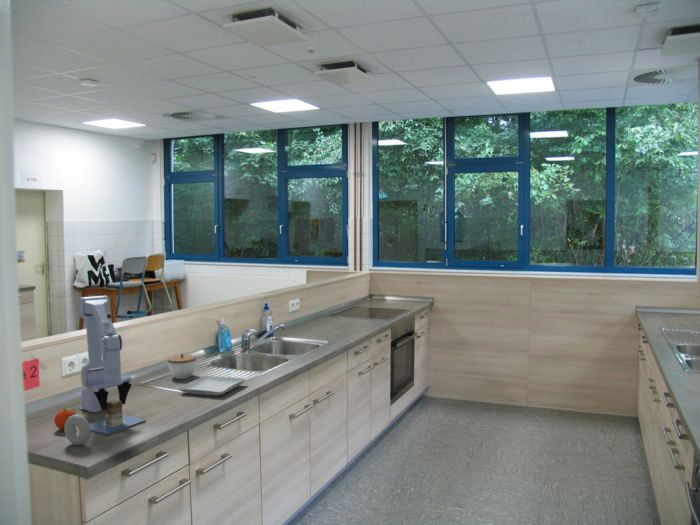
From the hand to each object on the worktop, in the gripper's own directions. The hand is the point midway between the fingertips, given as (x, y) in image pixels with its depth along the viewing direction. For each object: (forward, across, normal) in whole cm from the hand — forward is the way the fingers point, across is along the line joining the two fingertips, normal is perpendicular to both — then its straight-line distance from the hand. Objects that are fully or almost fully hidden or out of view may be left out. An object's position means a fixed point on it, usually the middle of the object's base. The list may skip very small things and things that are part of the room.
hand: (113, 406), depth 205 cm
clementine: (+7, -10, +12) cm, 17 cm away
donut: (+7, -18, -6) cm, 20 cm away
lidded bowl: (+7, +59, +29) cm, 66 cm away
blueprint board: (+7, 0, 0) cm, 7 cm away
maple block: (+6, 0, 0) cm, 6 cm away
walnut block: (+2, 0, 0) cm, 2 cm away
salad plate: (+7, +50, +1) cm, 51 cm away
